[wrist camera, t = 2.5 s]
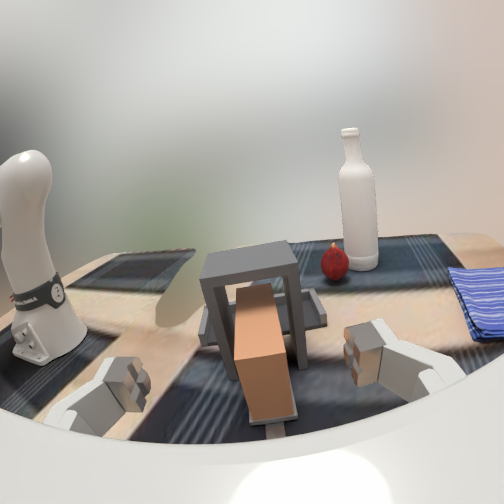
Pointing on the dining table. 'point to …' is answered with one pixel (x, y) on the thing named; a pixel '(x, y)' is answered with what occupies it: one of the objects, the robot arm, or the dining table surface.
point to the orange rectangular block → (262, 357)
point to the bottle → (358, 205)
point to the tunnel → (245, 270)
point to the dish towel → (481, 300)
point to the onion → (334, 263)
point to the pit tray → (311, 311)
